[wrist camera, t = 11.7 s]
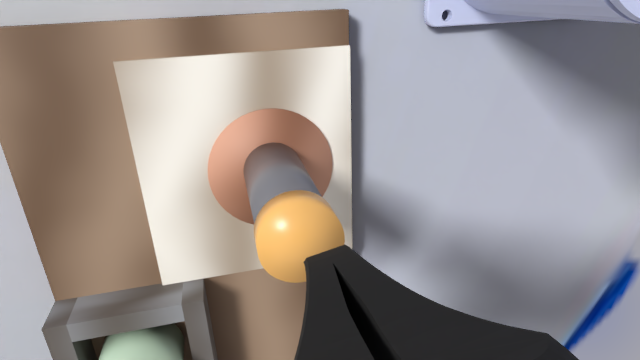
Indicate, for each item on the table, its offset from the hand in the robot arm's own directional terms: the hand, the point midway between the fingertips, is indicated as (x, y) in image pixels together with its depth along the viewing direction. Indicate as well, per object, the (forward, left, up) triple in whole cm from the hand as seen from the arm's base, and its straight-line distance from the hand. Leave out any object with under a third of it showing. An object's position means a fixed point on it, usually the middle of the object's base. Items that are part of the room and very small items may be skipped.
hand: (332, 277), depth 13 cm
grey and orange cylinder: (0, 0, -9) cm, 9 cm away
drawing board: (+4, +3, -10) cm, 11 cm away
